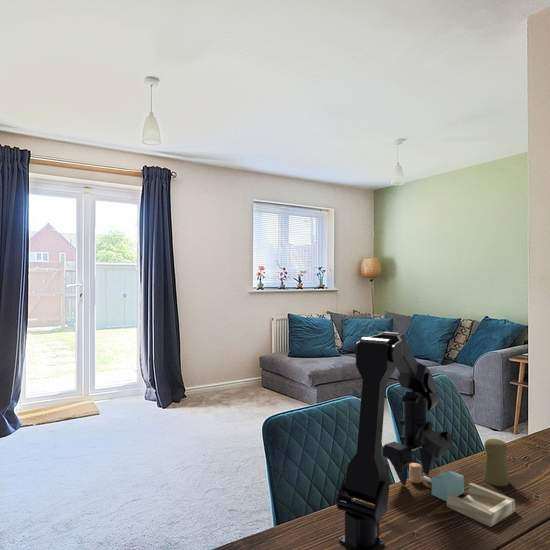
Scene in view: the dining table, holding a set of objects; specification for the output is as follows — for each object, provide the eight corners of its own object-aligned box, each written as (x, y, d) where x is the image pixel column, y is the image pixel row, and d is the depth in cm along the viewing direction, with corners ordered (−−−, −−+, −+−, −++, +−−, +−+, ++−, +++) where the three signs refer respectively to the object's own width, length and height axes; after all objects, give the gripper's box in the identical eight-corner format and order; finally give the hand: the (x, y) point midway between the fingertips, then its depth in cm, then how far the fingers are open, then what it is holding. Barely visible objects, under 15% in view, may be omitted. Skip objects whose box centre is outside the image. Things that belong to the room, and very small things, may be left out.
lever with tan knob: (447, 505, 102) (447, 484, 102) (401, 484, 112) (401, 465, 112) (463, 496, 106) (463, 475, 106) (418, 477, 116) (418, 458, 116)
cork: (483, 476, 117) (483, 434, 117) (510, 482, 114) (510, 438, 114) (481, 486, 112) (481, 442, 111) (508, 492, 108) (508, 446, 108)
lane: (490, 531, 92) (490, 514, 92) (446, 510, 100) (446, 495, 100) (514, 515, 98) (514, 499, 98) (471, 497, 106) (471, 482, 106)
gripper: (419, 434, 101) (419, 504, 101) (466, 418, 112) (466, 481, 112) (380, 421, 110) (380, 485, 110) (427, 407, 121) (427, 465, 121)
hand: (415, 479), depth 113 cm, fingers open, 9 cm apart
